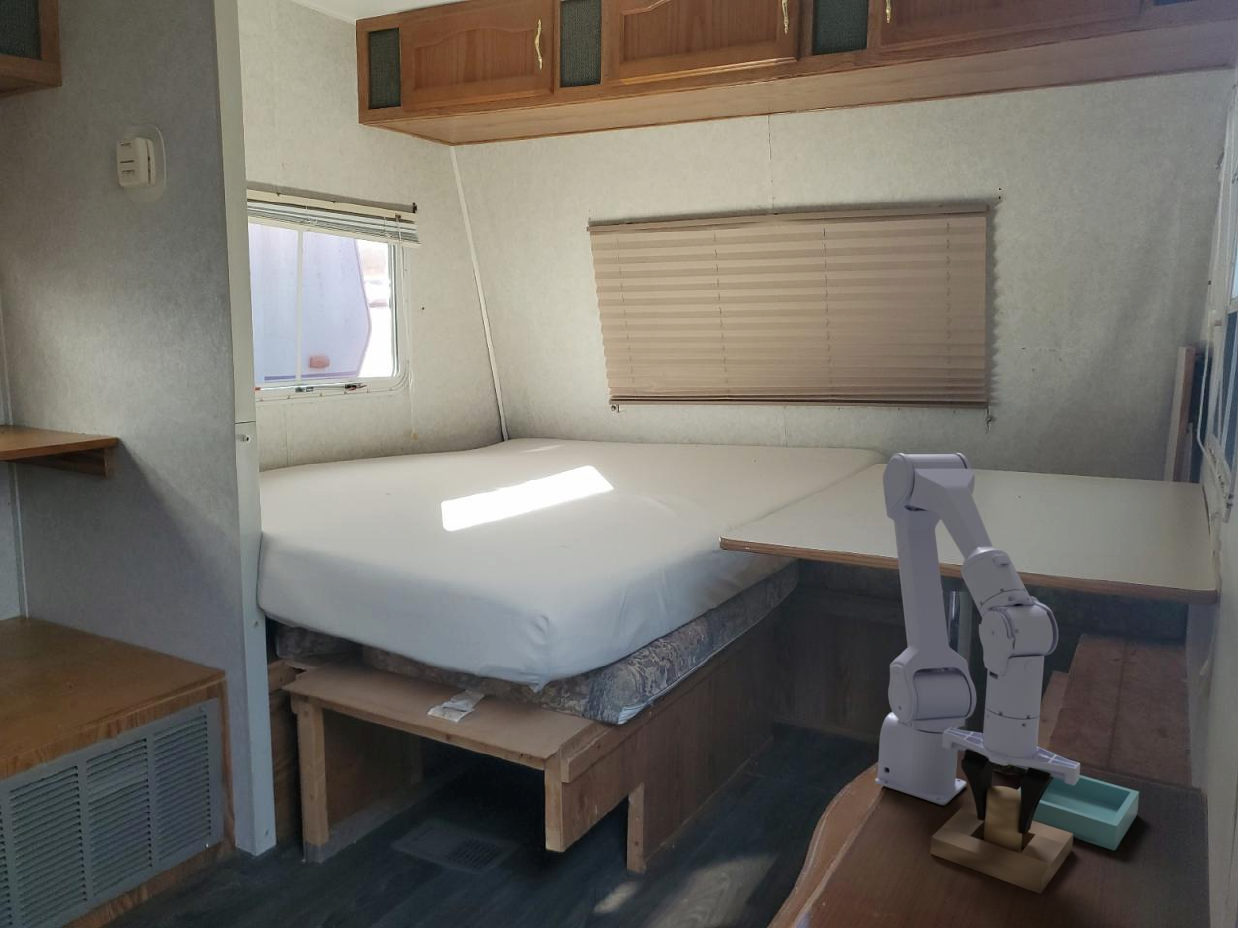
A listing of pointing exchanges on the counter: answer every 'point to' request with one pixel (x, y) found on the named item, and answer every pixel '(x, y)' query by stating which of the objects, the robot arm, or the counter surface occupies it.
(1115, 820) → the tray
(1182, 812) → the counter surface
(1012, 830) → the dowel
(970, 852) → the socket block
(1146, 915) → the counter surface
